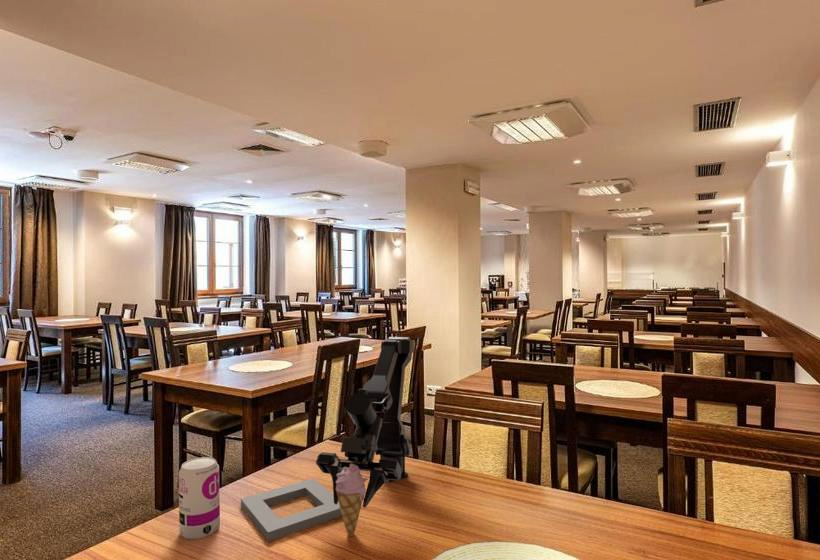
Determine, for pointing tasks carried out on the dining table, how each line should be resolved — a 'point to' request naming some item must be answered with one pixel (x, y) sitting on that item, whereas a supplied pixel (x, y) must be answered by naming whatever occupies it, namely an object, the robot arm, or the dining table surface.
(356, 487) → the ice cream cone
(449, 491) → the dining table surface
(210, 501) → the supplement can
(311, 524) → the grey flat square frame
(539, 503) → the dining table surface
